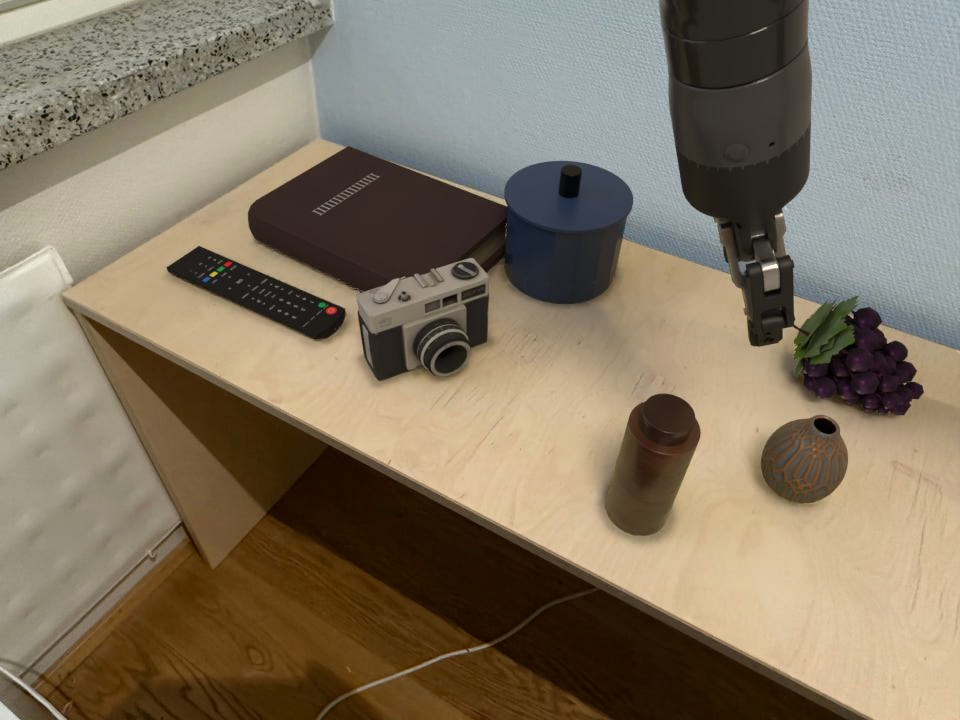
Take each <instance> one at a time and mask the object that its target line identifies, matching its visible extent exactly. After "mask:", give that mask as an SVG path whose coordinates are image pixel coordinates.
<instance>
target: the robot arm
mask: <svg viewBox="0 0 960 720" xmlns="http://www.w3.org/2000/svg"><path fill="white" fill-rule="evenodd" d="M809 3H810V0H658V10H659V18H660V25H661V26H660V27H661V32H662V33H661V34H662V39H663V40H662V41H663V46H664V52H665V59H666V65H667V74H668V78H667V79H668V82H667V83H668V85H667V86H668V87H667V89H668V91H667V93H668V107H669V115H670V116H669V117H670V120H671V121H670V122H671V128H672V134H673V141H674V146H675V154H676V160H677V165H678V172H679V179H680V183H681V184H680V185H681V190H682V193H683V196H684V198H685V200H686V202H688V203H689V205H690V206H691V207H692V208H693V209H695V210H696V211H698V212H699V213H701V214H703V215H705V216H707V217H712V218H713V223H715V224H716V225H717V231H718V236H719V237H718V238H719V241H720V244H721V245H722V253H723V258H724V261H725V263H726V264H728V268H729V274H730V280H731V282H732V283H733V285H734V286H735V287H736V288H737V289H741V294H742V299H743V305H744V307H743V315H744V316H746V327H747V337H748V341H749V344H750V346H751V347H755V348H756V347H757V348H761V347H766V346H771V345H776V344H777V345H778V344H779V343H780V342H781V341H782V340H783V339H784V329H789V328H794V325H795V322H796V316H795V293H794V292H795V291H794V289H795V287H794V286H795V285H794V269H795V262H794V260H793V259H792V258H791V255H790V254H787V252H786V247H785V246H786V245H785V240H784V237H785V236H784V235H785V234H786V231H787V227H786V221H785V213H784V211H783V208H784V207H785V206H787V205H788V204H790V202H792V201H793V200H794V199H795V198H796V197H797V196H798V195H799V194H800V193H801V191H802V190H803V189H804V187H805V186H806V184H807V181H808V179H809V175H810V171H811V170H810V169H811V139H812V138H811V135H812V102H813V101H812V98H813V70H812V68H813V67H812V61H811V55H810V49H809V11H810V10H809V8H810V7H809V5H810V4H809ZM740 262H742V263H746V264H745V270H744V271H741V269H740ZM749 262H750V263H749Z"/></svg>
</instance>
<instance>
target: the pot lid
mask: <svg viewBox="0 0 960 720" xmlns="http://www.w3.org/2000/svg"><path fill="white" fill-rule="evenodd" d="M503 192H504V193H503V195H504V196H503V197H504V201H505V204H506V206H508V207H509V208H510V210H511V211H512V212H513V213H514V214H515V215H516V216H518V217H519V218H520V219H522V220H523V221H525V222H527V223H529V224H531V225H533V226H536V227H539V228H541V229H545V230H549V231H553V232H559V233H568V234H584V233H593V232H598V231H603V230H606V229H609V228H611V227H614V226H616V225H617V224H619V223H621V222H622V221H623V220H624V219H626V218H627V219H628V216H629V215H630V214H631V212H632V210H633V206H634V194H633V191H632V189H631V188H630V185H628V183H627V182H626V181H624V180H623V179H622V178H621V177H620V176H618V175H616V174H615V173H613V172H612V171H610V170H608V169H605V168H603V167H600V166H598V165H595V164H590V163H586V162H582V161H581V162H580V161H572V160H551V161H550V160H549V161H543V162H542V161H541V162H537V163H534V164H530V165H527V166H525V167H523V168H521V169H519V170H517V171H516V172H515V173H513V174H512V175H511V176H510V177H509V178H508V180H507V181H506V184H505V186H504V191H503Z"/></svg>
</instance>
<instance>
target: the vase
mask: <svg viewBox="0 0 960 720" xmlns="http://www.w3.org/2000/svg"><path fill="white" fill-rule="evenodd" d="M848 466H849V452H848V447H847V445H846V443H845V440H844V439H843V437H842V435H841V427H840V425H839V423H838V422H837V420H835V419H834V418H832V417H831V416H829V415H825V414H816V415H813V416H811V417H809V418H808V417H807V418H799V419H798V418H797V419H793V420H790V421H788V422H786V423H784V424H782V425H780V427H778V428H777V429H776V430H775V431H774V432H773V433H772V434H771V435H770V436H769V437H768V439H767V440H766V442H765V444H764V446H763V448H762V452H761V455H760V471H761V476H762V478H763V481H765V483H766V485H767V487H768V488H769V489H770V490H771V491H772V492H773V493H774V494H776V495H777V496H778V497H780V498H781V499H784V500H786V501H788V502H791V503H795V504H812V503H813V504H814V503H816V502H820V501H821V500H823V499H825V498H827V497H828V496H830V495H832V494H833V493H834V492H835V490H837V489H838V488H839V486H840V485H841V484H842V482H843V480H844V479H845V477H846V474H847V471H848Z"/></svg>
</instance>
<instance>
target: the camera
mask: <svg viewBox="0 0 960 720" xmlns="http://www.w3.org/2000/svg"><path fill="white" fill-rule="evenodd" d="M489 300H490V275H489V274H488V272H485V271H484V270H483V269H482V268H481V267H480V265H479V264H478V263H477V262H476V261H475V260H474V259H473V258H468V259H465V260H462V261H459V262H456V263H452V264H449V265H446V266H443V267H440V268H436V269H431V272H429V273H427V274H424V275H419V274H415V275H414V277H409V278H406V277H402V278H397V279H393V280H392V281H390V282H389V283H388V284H387V285H384V286H381V287H377V288H374V289H371V290H368V291H365V292H363V291H361V292H360V293H358V294H357V295H356V302H357V303H356V304H357V307H358V309H357V319H358V324H359V325H358V326H359V332H360V336H361V337H360V338H361V344H362V350H363V358H364V360H365V362H366V363H367V365H368V367H369V369H370V370H371V373H372V374H373V375H374V377H375V378H376V380H377V381H378V382H383V381H384V380H387V379H390V378H393V377H396V376H399V375H401V374H404V373H407V372H409V371H412V370H416V369H419V368H421V367H423V368H425V369H426V370H427V371H428V372H430V373H431V374H432V375H434V376H437V377H448V376H452V375H454V374H456V373H458V372H459V371H461V370H462V369H463V368H464V367H465V366H466V365H467V363H468V362H469V360H470V358H471V355H472V348H474V347H477V346H480V345H483V344H486V343H487V342H488V327H489V326H488V325H489Z"/></svg>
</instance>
